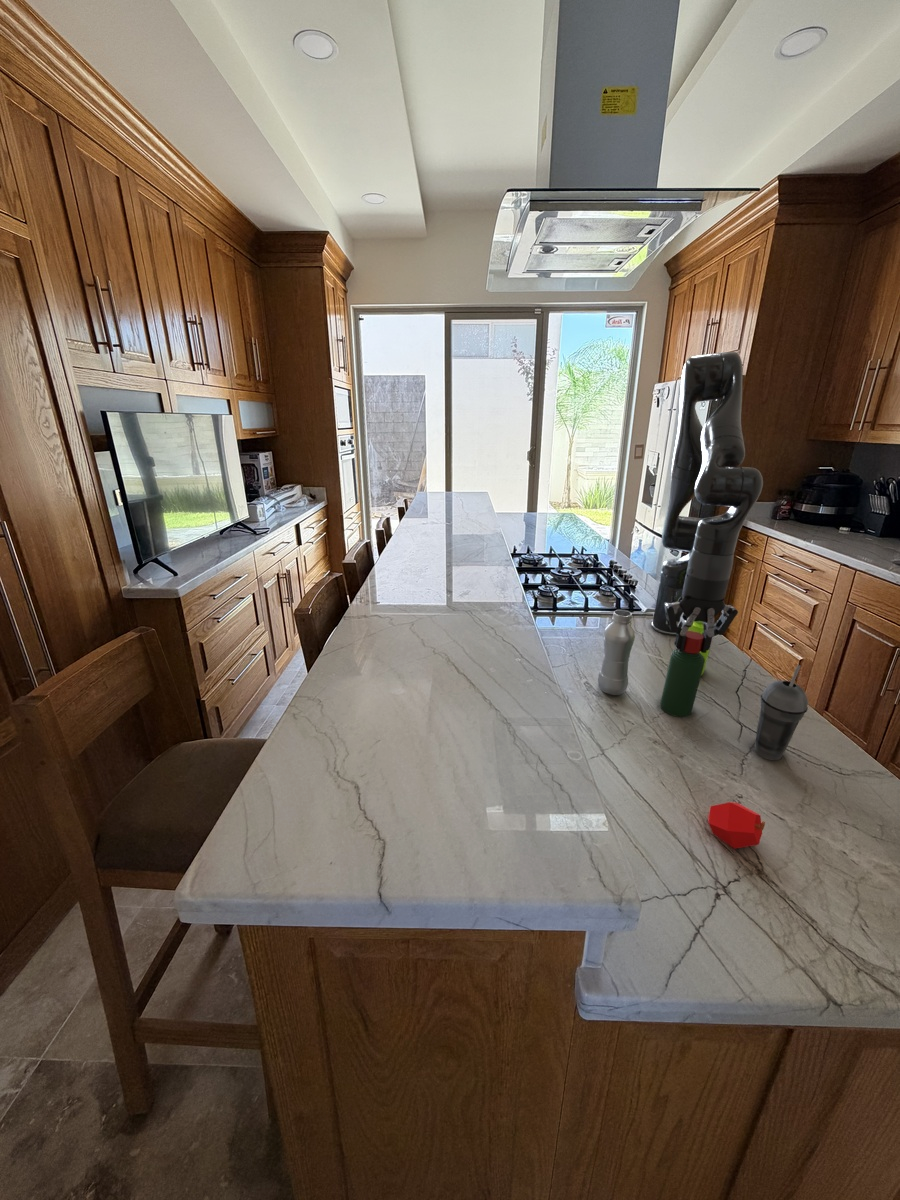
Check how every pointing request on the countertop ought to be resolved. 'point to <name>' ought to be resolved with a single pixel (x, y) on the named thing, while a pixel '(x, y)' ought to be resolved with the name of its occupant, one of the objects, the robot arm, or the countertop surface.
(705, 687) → the countertop surface
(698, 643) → the cap
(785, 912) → the countertop surface
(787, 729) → the beverage cup
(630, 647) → the plastic bottle
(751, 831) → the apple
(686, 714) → the oil bottle
